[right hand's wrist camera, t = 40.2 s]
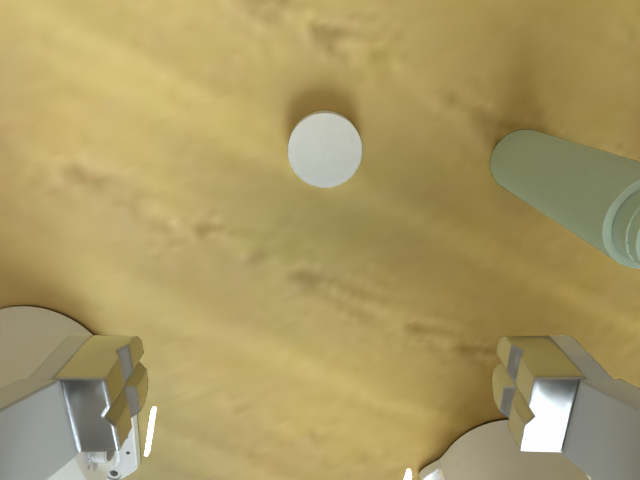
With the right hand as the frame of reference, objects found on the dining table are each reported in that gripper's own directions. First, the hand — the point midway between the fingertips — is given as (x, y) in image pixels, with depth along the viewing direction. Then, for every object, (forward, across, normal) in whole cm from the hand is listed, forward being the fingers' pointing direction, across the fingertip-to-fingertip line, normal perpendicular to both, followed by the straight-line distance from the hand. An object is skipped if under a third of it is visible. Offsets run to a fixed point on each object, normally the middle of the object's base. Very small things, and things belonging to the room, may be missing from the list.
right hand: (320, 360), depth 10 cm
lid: (+28, 0, 0) cm, 28 cm away
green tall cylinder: (+29, +17, -1) cm, 34 cm away
